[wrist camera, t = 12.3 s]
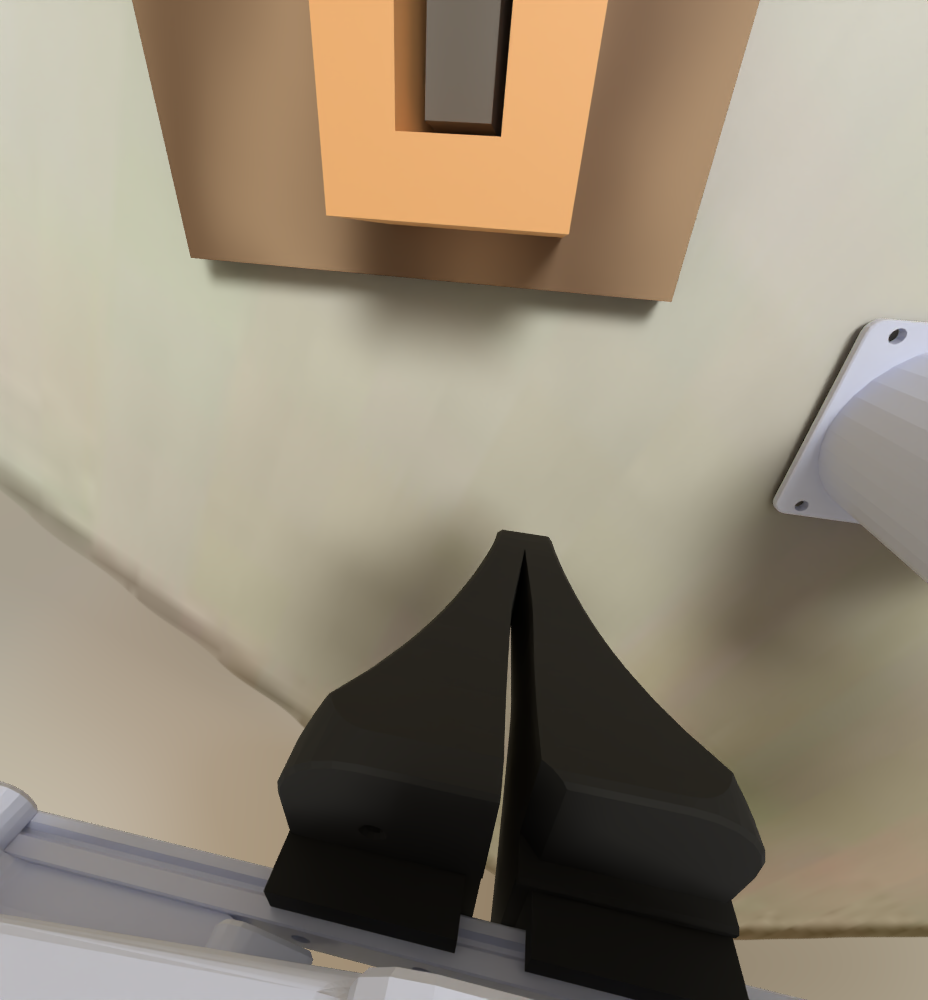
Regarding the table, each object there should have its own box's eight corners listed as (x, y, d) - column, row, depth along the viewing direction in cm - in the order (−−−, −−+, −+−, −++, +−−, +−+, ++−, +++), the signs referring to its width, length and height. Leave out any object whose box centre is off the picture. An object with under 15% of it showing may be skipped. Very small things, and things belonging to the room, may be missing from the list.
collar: (637, -230, 10) (708, -602, 5) (562, 237, 14) (569, 234, 10) (380, -222, 10) (263, -551, 6) (388, 224, 15) (326, 215, 11)
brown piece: (783, -137, 11) (963, -427, 6) (661, 297, 16) (708, 318, 11) (137, -131, 13) (-100, -349, 8) (216, 256, 18) (99, 260, 13)
